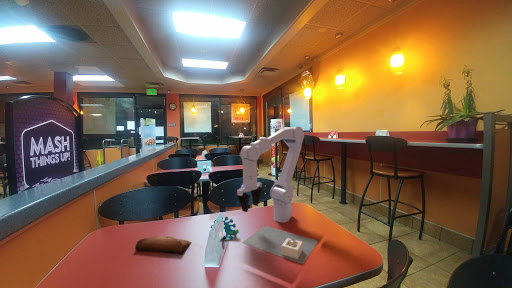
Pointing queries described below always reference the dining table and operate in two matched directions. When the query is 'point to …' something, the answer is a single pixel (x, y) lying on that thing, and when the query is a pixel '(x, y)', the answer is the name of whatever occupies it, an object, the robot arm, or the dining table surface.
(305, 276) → the dining table surface
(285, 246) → the ring
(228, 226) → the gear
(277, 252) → the board
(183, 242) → the sunglasses case
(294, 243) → the piston
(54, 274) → the dining table surface
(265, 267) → the dining table surface
